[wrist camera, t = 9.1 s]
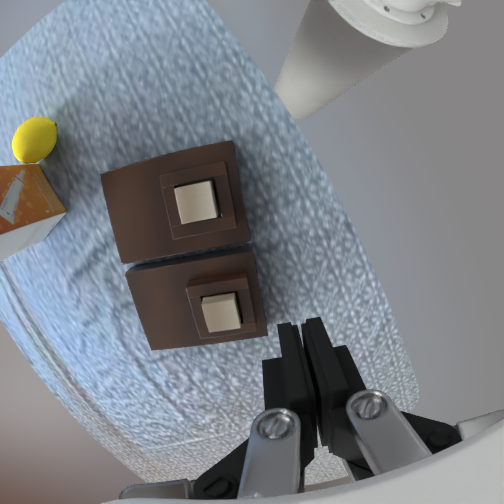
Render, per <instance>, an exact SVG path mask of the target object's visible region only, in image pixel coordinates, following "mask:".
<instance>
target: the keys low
mask: <svg viewBox="0 0 504 504" xmlns="http://www.w3.org/2000/svg"><path fill="white" fill-rule="evenodd" d="M100 176H101V181H102V186H103V191H104V195H105V200H106V205H107V209H108V213H109V218H110V222H111V226H112V230H113V234H114V238H115V241H116V245H117V249H118V252H119V256H120V259H121V263H122V265H123V264H129V263H134V262H139V261H144V260H150V259H155V258H161V257H166V256H171V255H177V254H182V253H188V252H193V251H199V250H204V249H210V248H215V247H221V246H226V245H232V244H238V243H243V242H249V241H251V240H250V232H249V227H248V221H247V216H246V210H245V205H244V199H243V194H242V188H241V183H240V177H239V172H238V166H237V161H236V155H235V150H234V144H233V141H232V140H230V141H225V142H220V143H215V144H210V145H205V146H201V147H196V148H192V149H187V150H183V151H179V152H174V153H170V154H166V155H162V156H159V157H155V158H151V159H147V160H144V161H140V162H136V163H133V164H129V165H126V166H123V167H119V168H116V169H113V170H110V171H106V172H103V173H101V174H100ZM210 180H212V183H213V188H214V193H215V198H216V203H217V208H218V216H217V217H216V218H211V219H206V220H200V221H195V222H190V223H185V224H182V223H181V219H180V214H179V209H178V205H177V200H176V195H175V190H174V189H175V188H178V187H182V186H186V185H191V184H196V183H201V182H205V181H210Z"/></svg>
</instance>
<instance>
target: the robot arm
mask: <svg viewBox="0 0 504 504" xmlns="http://www.w3.org/2000/svg"><path fill="white" fill-rule="evenodd" d="M362 1H363V2H364V3H365V4H367V5H368V6H369V7H370V8H372V9H373V10H375V11H376V12H378V13H379V14H381V15H383V16H385V17H387V18H389V19H391V20H393V21H396V22H398V23H403V24H407V25H418V24H422V23H424V22H426V21H428V20H429V19H430V18H431V17H432V16H433V14H434V11H435V3H437V2H440V3H443V2H447V3H449V4H452V5H455V6H460V5H461V0H362ZM277 328H278V334H279V340H280V347H281V353H282V357H280V358H273V359H267V360H262V369H263V386H264V402H265V411H263V412H262V413H260V414H259V415H258V416H257V417H256V418H255V419H254V421H253V423H252V426H251V431H250V437H249V438H248V439H247V440H246V441H244V442H243V443H242V444H241V445H240V446H238V447H237V448H236V449H235V450H233V451H232V452H231V453H230V454H228V455H227V456H226V457H224V458H223V459H222V460H221V461H219V462H218V463H217V464H215V465H214V466H213V467H211V468H210V469H209V470H207V471H206V472H205V473H203V474H202V475H201V476H200V477H199V478H198V479H197V480H191V481H189V480H188V479H181V480H174V481H166V482H157V483H147V484H136V485H130V486H128V487H126V488H125V489H123V491H122V492H121V494H120V496H119V500H114V501H109V502H105V503H101V504H504V410H498V411H495V412H492V413H489V414H486V415H482V416H479V417H475V418H472V419H468V420H464V421H460V422H457V424H456V425H455V426H451V425H448V424H446V423H442V422H439V421H435V420H431V419H427V418H423V417H420V416H416V415H413V414H410V413H406V412H403V411H400V410H399V409H398V408H397V406H396V405H395V404H394V402H393V401H392V400H391V398H390V397H389V396H388V395H387V394H386V393H384V392H382V391H379V390H374V389H368V390H367V389H366V387H365V385H364V383H363V380H362V378H361V376H360V374H359V372H358V369H357V367H356V365H355V363H354V361H353V359H352V356H351V354H350V352H349V350H348V348H347V346H346V345H343V346H338V347H332V344H331V342H330V339H329V337H328V334H327V332H326V330H325V327H324V325H323V322H322V320H321V318H320V317H316V318H311V319H306V323H304V324H301V328H302V338H303V345H302V341H301V338H300V334H299V330H298V326H297V325H293V326H292V324H291V322H288V323H283V324H277ZM303 347H304V349H303ZM317 426H318V430H319V435H320V439H321V444H322V447H323V446H328V449H329V453H332V452H333V454H334V455H336V456H338V457H340V458H342V461H343V464H344V466H345V469H346V471H347V473H348V475H349V477H350V479H351V481H352V483H348V484H344V485H340V486H335V487H331V488H326V489H321V490H316V491H310V492H304V491H305V468H306V467H307V465H308V464H309V463H310V462H311V461H312V460H313V459H314V448H318V440H317Z"/></svg>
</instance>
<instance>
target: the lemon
mask: <svg viewBox="0 0 504 504" xmlns="http://www.w3.org/2000/svg"><path fill="white" fill-rule="evenodd" d="M56 141H57V124H56V123H55V122H53V121H51V120H49V119H48V118H44V117H34V118H29V119H28V120H26V121H25V122H24V123H22V124H21V125H20V126H19V128H18V130H17V131H16V133H15V134H14V138H13V142H12V148H13V153H14V155H15V157H16V158H17V159H18V160H19V161H21V162H23V163H26V164H29V163H36V162H38V161H40V160H42V159H44V158H46V157H47V155H48V154H49V153H50V152H51V151H52V150H53V148H54V146H55V143H56Z"/></svg>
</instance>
